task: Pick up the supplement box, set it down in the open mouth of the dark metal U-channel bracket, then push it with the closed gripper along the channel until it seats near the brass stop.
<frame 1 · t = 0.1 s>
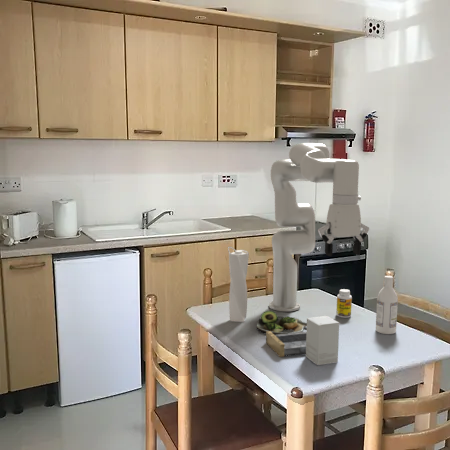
hand: (342, 254, 157), 31 cm above the table, fingers open, 9 cm apart
channel bracket: (298, 346, 163), on the table
supplement bottle: (343, 316, 195), on the table
skyscraper: (237, 319, 190), on the table
bath foam: (385, 331, 178), on the table
salad plate: (278, 328, 182), on the table
supplement box: (321, 360, 154), on the table
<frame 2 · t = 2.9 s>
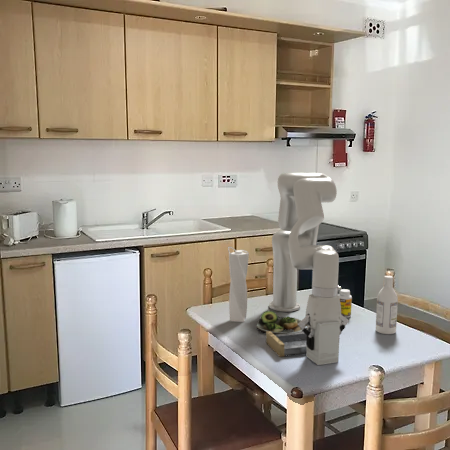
hand: (322, 346, 153), 4 cm above the table, fingers closed on supplement box, 7 cm apart
supplement box: (322, 360, 154), on the table, touching gripper
everything else where it was.
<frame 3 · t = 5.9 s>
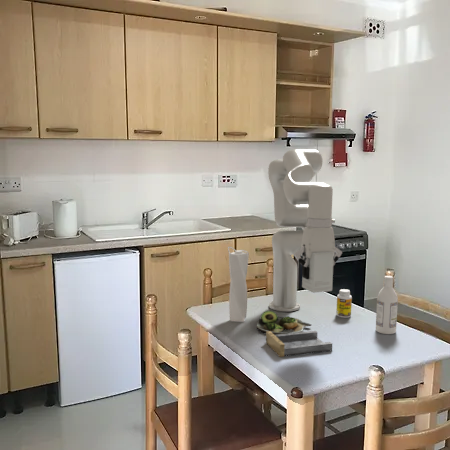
hand: (317, 277, 162), 23 cm above the table, fingers closed on supplement box, 7 cm apart
supplement box: (316, 289, 162), point 19 cm above the table, touching gripper
everything else where it was.
when the fingers open (6 cm above the table, at t = 9.0 s): supplement box drops 1 cm, resting on channel bracket.
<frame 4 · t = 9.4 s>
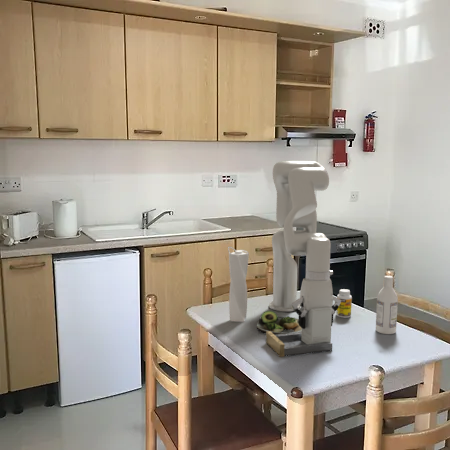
hand: (315, 326, 164), 6 cm above the table, fingers open, 9 cm apart
supplement box: (315, 343, 165), resting on channel bracket
everything else where it was.
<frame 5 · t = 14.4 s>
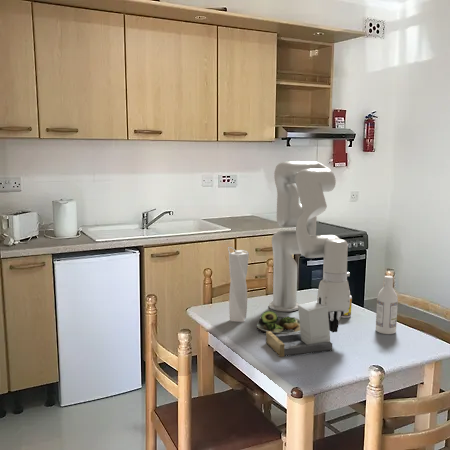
hand: (332, 330, 166), 4 cm above the table, fingers closed
supplement box: (315, 342, 165), point 1 cm above the table, touching channel bracket, gripper
everything else where it was.
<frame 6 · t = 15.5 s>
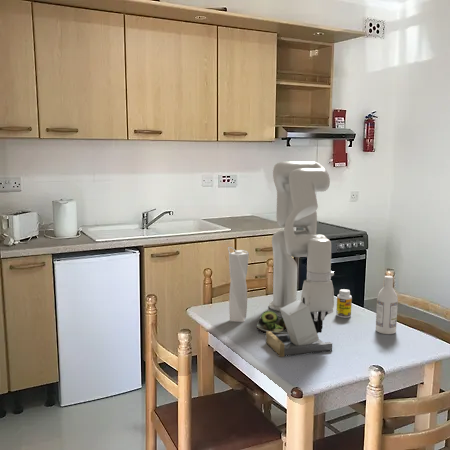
hand: (317, 331, 163), 5 cm above the table, fingers closed
supplement box: (305, 341, 164), point 2 cm above the table, touching channel bracket, gripper
everything else where it was.
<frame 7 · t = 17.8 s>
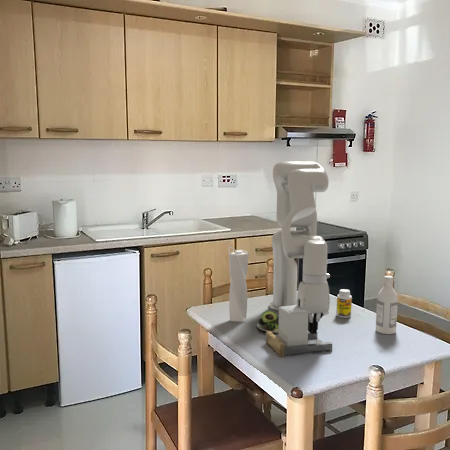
hand: (312, 332, 164), 4 cm above the table, fingers closed
supplement box: (292, 346, 162), resting on channel bracket
everything else where it was.
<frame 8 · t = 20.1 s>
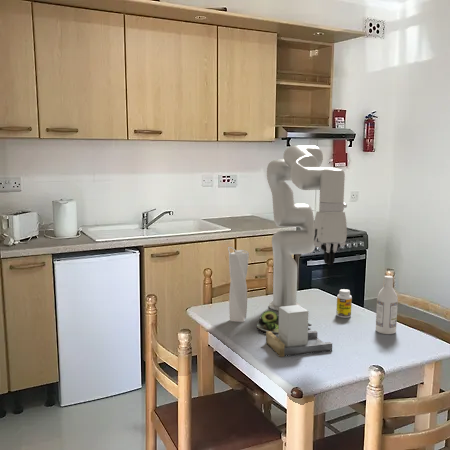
hand: (329, 263, 162), 27 cm above the table, fingers closed
nothing on the table moved.
at the end: supplement box inside the target area (1.6 cm from its centre), resting on channel bracket; supplement box tilted 0°; the gripper is holding nothing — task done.
